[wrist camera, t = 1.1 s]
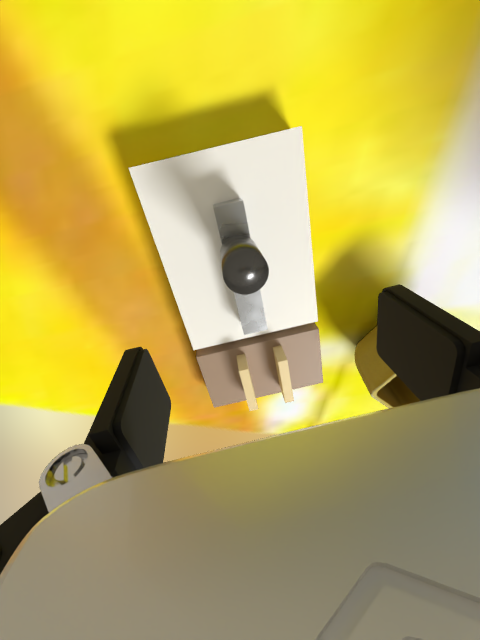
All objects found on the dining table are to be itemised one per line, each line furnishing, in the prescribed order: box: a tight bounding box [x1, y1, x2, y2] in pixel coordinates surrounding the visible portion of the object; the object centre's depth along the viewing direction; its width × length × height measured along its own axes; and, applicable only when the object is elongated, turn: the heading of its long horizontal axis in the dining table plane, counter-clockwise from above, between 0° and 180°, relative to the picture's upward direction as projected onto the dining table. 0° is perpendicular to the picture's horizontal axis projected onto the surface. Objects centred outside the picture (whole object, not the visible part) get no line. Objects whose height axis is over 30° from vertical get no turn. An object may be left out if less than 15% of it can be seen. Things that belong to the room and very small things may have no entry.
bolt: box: [213, 198, 269, 335], centre depth 23 cm, size 3×12×7 cm, turn 12°
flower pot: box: [355, 326, 420, 408], centre depth 33 cm, size 9×9×9 cm
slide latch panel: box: [129, 126, 323, 411], centre depth 29 cm, size 14×27×6 cm, turn 12°
